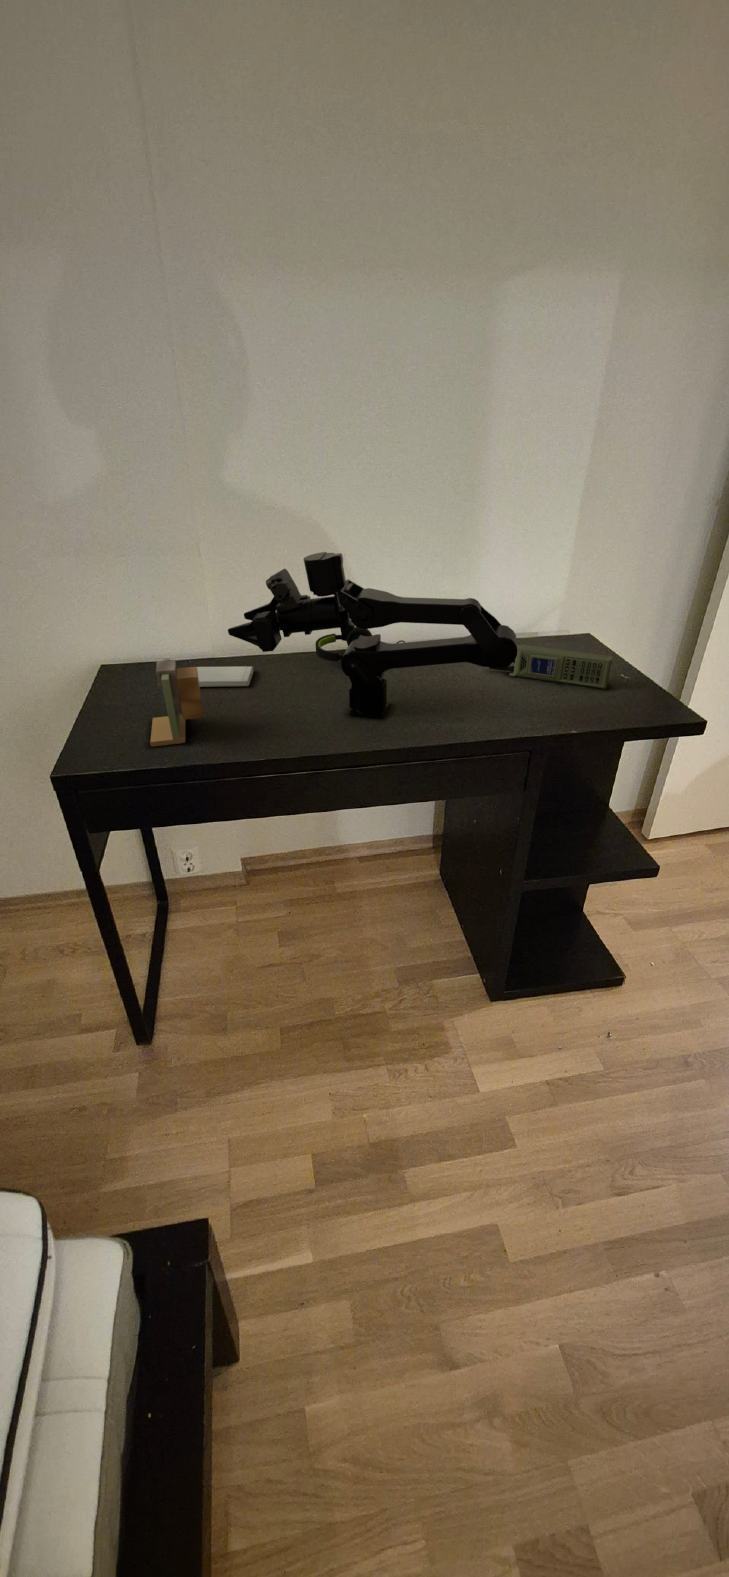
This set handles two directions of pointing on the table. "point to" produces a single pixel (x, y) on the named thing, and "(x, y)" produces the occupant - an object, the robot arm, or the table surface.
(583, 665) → the handheld radio
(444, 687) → the table surface
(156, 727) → the door panel
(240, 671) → the hard drive
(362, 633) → the headphones
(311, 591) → the robot arm
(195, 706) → the lidded tan box
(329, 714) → the table surface
